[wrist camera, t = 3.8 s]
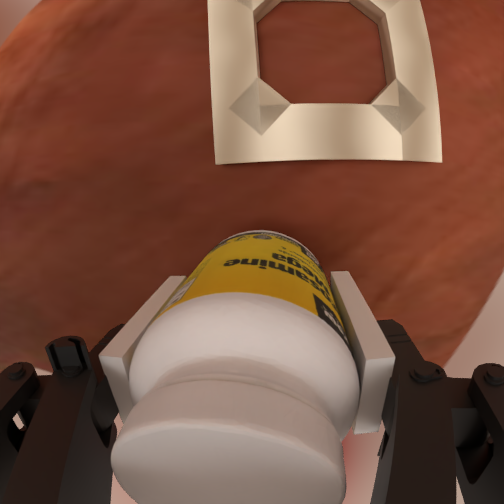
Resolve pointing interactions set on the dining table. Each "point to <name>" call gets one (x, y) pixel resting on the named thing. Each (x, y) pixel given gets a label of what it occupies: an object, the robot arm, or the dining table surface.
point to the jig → (326, 115)
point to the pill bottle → (242, 384)
